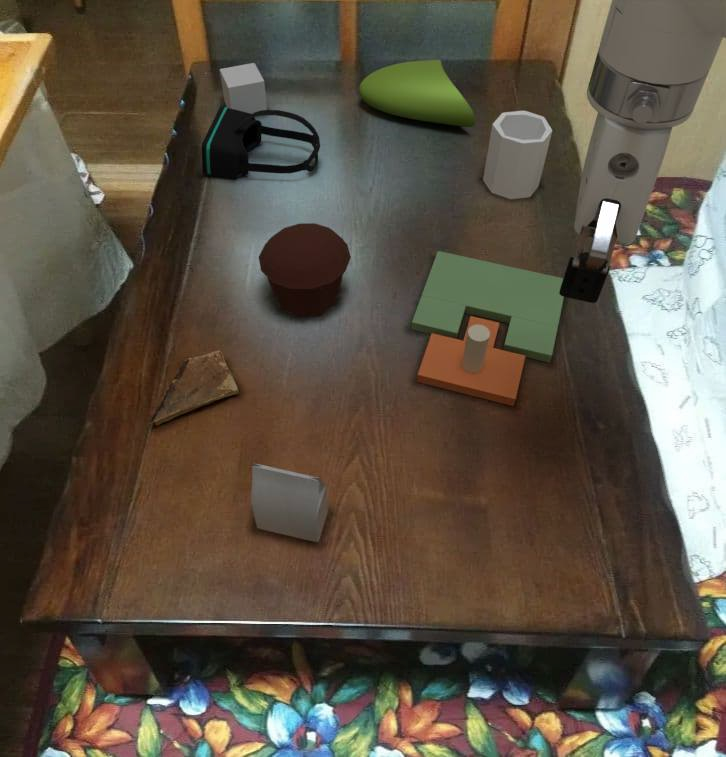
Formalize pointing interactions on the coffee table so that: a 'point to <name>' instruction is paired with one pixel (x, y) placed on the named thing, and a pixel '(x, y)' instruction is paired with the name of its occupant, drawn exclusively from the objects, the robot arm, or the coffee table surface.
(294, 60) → the coffee table surface
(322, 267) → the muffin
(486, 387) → the tab pad
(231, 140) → the virtual reality headset
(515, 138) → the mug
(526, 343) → the notch pad
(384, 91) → the green curved wedge
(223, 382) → the shard
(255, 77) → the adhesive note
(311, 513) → the grey piece
